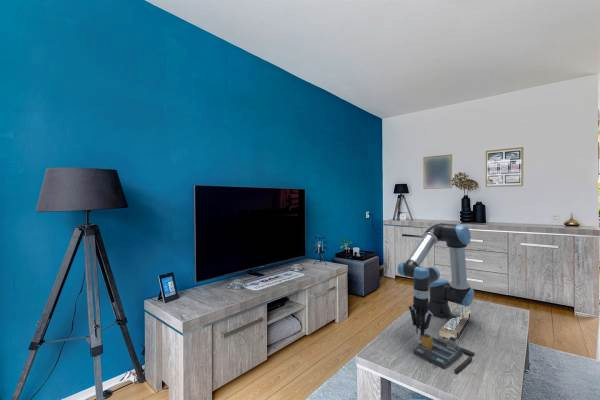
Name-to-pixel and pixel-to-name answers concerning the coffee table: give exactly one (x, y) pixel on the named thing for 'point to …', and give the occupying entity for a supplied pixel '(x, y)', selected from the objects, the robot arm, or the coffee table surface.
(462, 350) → the cord front
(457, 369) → the rod
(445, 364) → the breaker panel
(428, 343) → the block
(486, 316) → the coffee table surface
